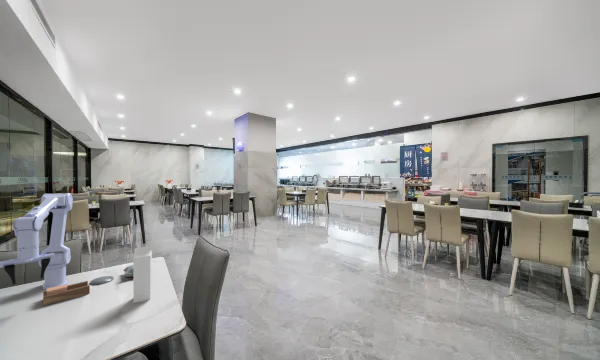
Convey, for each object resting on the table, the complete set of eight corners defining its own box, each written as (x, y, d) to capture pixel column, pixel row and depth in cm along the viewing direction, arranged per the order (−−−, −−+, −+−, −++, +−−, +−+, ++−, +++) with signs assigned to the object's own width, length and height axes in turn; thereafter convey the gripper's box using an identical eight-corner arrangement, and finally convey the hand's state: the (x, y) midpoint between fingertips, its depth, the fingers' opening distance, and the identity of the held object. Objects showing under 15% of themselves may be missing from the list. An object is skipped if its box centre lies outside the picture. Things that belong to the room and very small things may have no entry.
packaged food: (122, 280, 118) (122, 270, 118) (123, 273, 128) (123, 264, 128) (143, 276, 123) (143, 267, 123) (143, 270, 133) (143, 261, 133)
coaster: (88, 281, 119) (88, 279, 119) (111, 275, 125) (111, 274, 125) (91, 286, 113) (91, 285, 113) (115, 280, 119) (115, 279, 119)
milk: (135, 297, 103) (135, 246, 103) (152, 294, 106) (151, 244, 106) (133, 303, 98) (133, 250, 98) (150, 300, 100) (150, 248, 100)
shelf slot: (43, 299, 101) (43, 291, 101) (87, 288, 111) (87, 280, 111) (43, 306, 96) (43, 297, 96) (89, 293, 106) (89, 285, 106)
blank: (46, 300, 100) (46, 288, 100) (66, 295, 105) (66, 283, 105) (46, 303, 98) (46, 291, 98) (67, 298, 102) (67, 286, 102)
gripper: (-3, 253, 87) (-2, 290, 87) (54, 244, 98) (54, 277, 98) (0, 249, 92) (0, 284, 92) (54, 241, 103) (54, 273, 103)
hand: (28, 280), depth 95 cm, fingers open, 7 cm apart
